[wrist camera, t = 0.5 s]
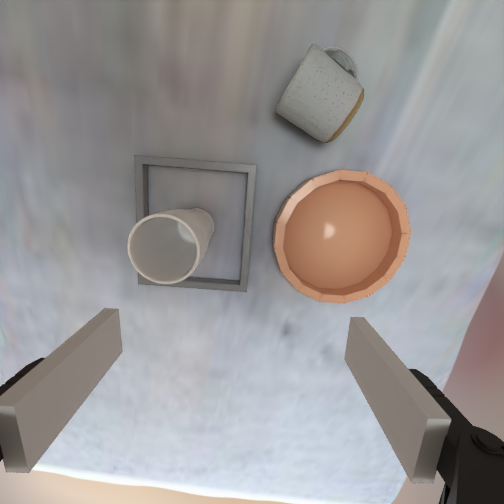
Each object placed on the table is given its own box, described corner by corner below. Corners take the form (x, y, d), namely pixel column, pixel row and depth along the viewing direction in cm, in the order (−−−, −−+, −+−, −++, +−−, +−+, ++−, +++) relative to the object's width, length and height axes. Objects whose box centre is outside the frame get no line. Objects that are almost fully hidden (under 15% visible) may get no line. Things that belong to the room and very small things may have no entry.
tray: (140, 156, 36) (134, 155, 34) (256, 166, 36) (256, 165, 34) (143, 279, 40) (138, 284, 38) (246, 287, 40) (246, 291, 39)
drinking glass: (173, 201, 37) (123, 210, 23) (220, 204, 37) (201, 215, 23) (173, 247, 39) (127, 283, 24) (219, 249, 39) (200, 287, 24)
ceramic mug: (322, 151, 36) (341, 140, 28) (271, 118, 35) (277, 98, 27) (367, 76, 34) (401, 43, 26) (315, 38, 32) (335, -7, 25)
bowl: (280, 166, 36) (282, 165, 33) (410, 177, 36) (423, 176, 34) (267, 290, 40) (269, 298, 38) (383, 298, 41) (393, 307, 38)
